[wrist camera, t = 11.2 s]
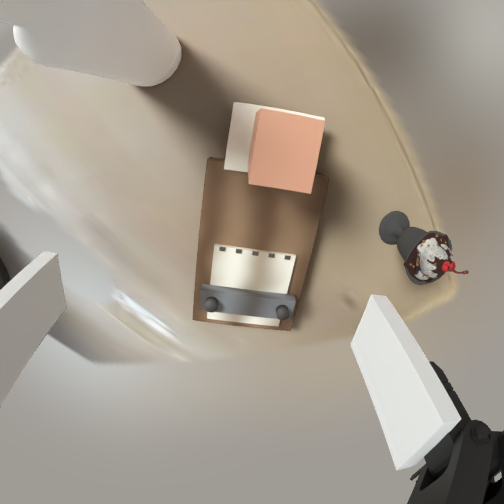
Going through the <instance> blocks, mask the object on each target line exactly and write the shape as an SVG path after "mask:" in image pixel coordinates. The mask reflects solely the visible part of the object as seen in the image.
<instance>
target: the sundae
mask: <svg viewBox="0 0 504 504" xmlns="http://www.w3.org/2000/svg"><path fill="white" fill-rule="evenodd" d="M379 234H380V237H381V239H382V240H383V241H384V242H385V243H387V244H397V247H398V250H399V252H400V254H401V256H402V258H403V259H404V261H405V263H404V266H405V269H406V272H407V275H408V277H409V278H410V280H411V281H412V282H414V283H415V284H419V285H422V284H427V283H430V282H433V281H435V280H437V279H439V278H440V277H441V276H442V275H443V274H444V273H445V272H447V271H449V272H451V271H452V272H455V273H458V274H461V273H463V274H467V273H468V271H464V272H457V271H455V270H454V269H455V267H456V266H455V263H454V262H453V261H452V256H453V255H452V253H451V251H452V245H451V241H450V240H449V238H448V236H447V235H446V234H443V233H441V232H438V231H429V232H426V231H424V230H422V229H419V228H416V227H409V220H408V218H407V216H406V215H405V214H404V213H402V212H399V211H394V212H391V213H389V214H388V215H386V216H385V217H384V218H383V220H382V221H381V224H380V227H379Z"/></svg>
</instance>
